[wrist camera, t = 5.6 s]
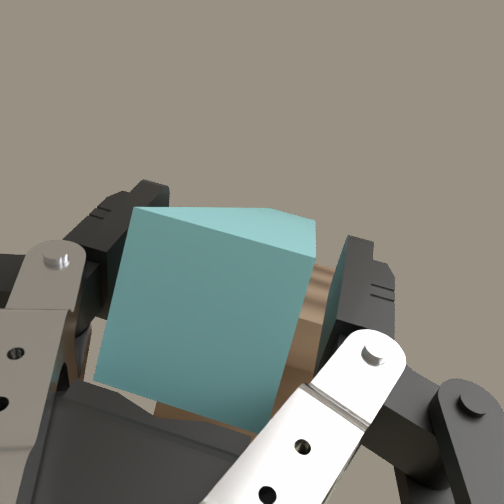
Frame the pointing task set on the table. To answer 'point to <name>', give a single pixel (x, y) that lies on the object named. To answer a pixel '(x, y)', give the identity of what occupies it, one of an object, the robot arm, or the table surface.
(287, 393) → the walnut stand
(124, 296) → the teal bar
